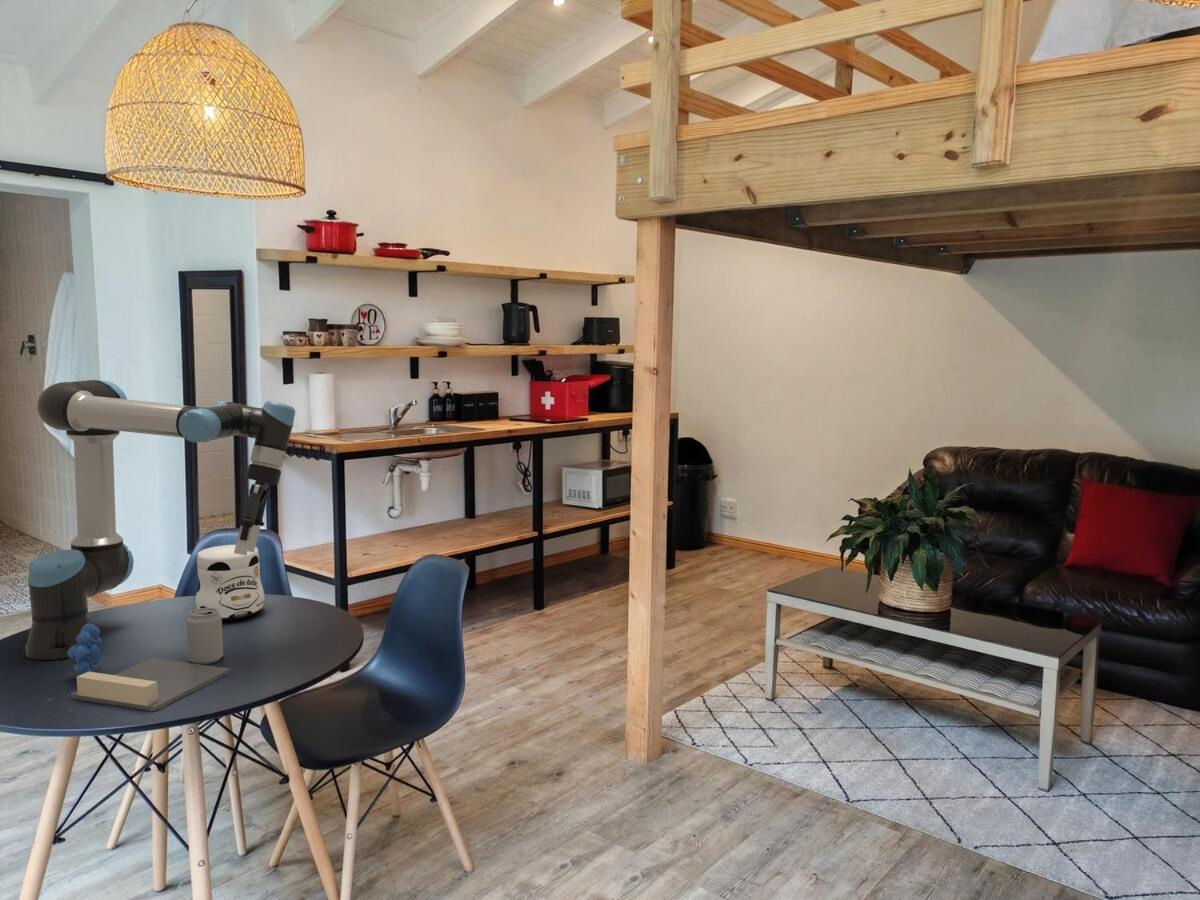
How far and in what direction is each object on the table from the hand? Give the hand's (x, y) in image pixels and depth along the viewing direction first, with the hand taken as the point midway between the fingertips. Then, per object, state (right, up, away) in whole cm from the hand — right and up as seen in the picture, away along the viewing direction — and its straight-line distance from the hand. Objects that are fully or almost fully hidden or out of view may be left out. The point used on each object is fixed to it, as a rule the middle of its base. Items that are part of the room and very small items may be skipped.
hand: (244, 552), depth 210 cm
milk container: (-16, -21, +32) cm, 41 cm away
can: (-8, -25, -2) cm, 27 cm away
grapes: (-30, -26, -13) cm, 42 cm away
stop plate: (-13, -27, -17) cm, 35 cm away
